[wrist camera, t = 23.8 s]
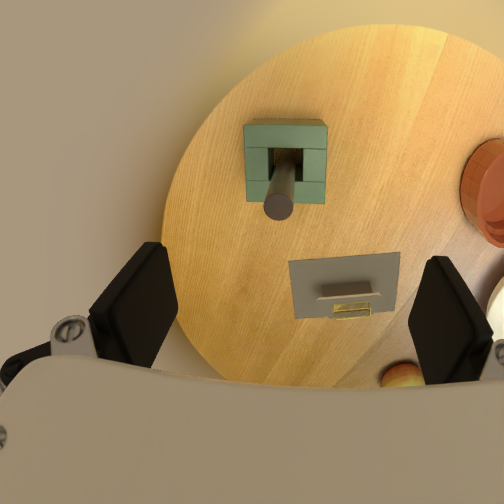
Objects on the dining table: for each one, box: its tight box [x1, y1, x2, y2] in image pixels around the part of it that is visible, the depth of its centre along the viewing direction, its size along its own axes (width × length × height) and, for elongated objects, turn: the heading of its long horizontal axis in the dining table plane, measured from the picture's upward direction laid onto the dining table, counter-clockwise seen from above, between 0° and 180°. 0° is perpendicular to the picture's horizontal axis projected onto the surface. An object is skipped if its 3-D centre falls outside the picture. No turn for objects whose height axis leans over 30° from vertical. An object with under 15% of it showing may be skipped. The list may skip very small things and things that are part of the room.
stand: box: [243, 119, 327, 204], centre depth 36 cm, size 9×9×8 cm
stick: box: [263, 148, 296, 221], centre depth 31 cm, size 2×2×20 cm
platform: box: [288, 252, 400, 320], centre depth 46 cm, size 12×18×7 cm, turn 100°
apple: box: [380, 364, 425, 388], centre depth 54 cm, size 10×10×8 cm
